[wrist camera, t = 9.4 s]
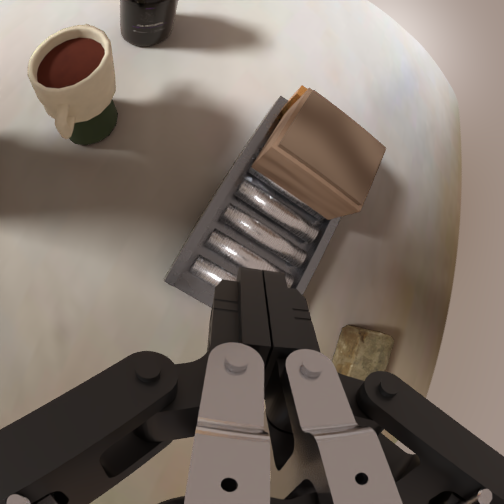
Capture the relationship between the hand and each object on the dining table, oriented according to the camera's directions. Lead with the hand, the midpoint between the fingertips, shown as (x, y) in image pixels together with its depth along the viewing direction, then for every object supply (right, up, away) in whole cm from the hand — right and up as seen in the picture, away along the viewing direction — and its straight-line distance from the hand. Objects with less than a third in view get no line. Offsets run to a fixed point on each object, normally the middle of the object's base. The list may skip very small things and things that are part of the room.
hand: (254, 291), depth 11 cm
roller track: (+2, +6, +25) cm, 26 cm away
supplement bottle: (-14, +30, +21) cm, 39 cm away
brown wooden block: (+6, +11, +23) cm, 26 cm away
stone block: (+12, -14, +27) cm, 33 cm away
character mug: (-18, +16, +20) cm, 31 cm away
